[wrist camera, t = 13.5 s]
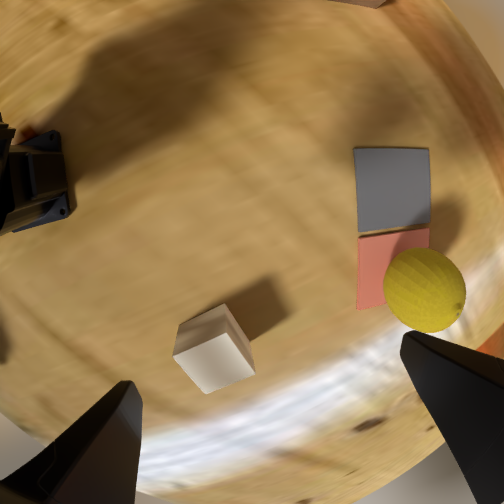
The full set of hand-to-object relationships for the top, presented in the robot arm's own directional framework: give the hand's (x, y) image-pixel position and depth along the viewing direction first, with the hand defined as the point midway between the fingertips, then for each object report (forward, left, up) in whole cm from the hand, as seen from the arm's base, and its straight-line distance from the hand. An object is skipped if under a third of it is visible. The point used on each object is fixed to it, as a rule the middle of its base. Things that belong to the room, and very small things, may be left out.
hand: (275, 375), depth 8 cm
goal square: (+12, -3, -12) cm, 17 cm away
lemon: (+12, -3, -12) cm, 17 cm away
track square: (+12, +4, -12) cm, 17 cm away
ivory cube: (-3, -6, -12) cm, 14 cm away
